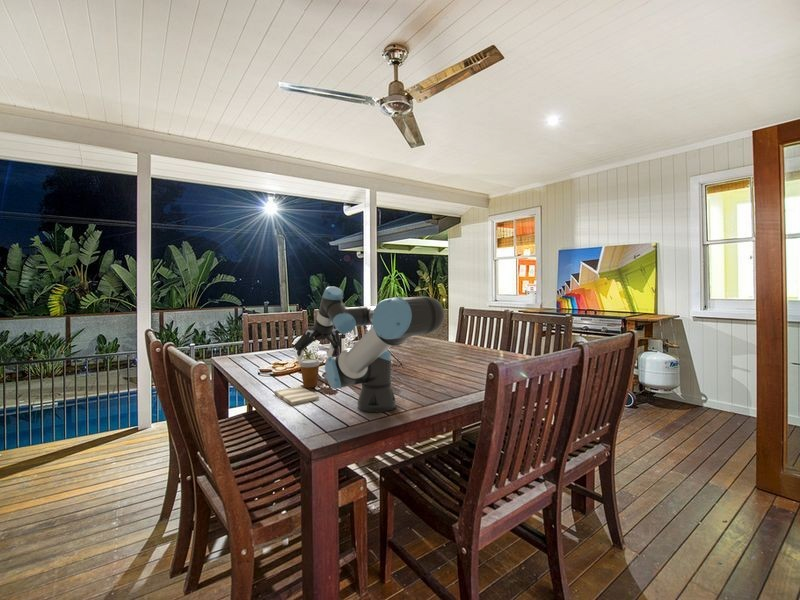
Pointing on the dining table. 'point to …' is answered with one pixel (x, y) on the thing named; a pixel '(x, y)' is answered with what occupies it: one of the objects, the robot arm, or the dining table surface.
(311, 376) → the disposable coffee cup
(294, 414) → the dining table surface
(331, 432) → the dining table surface
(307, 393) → the serving board
